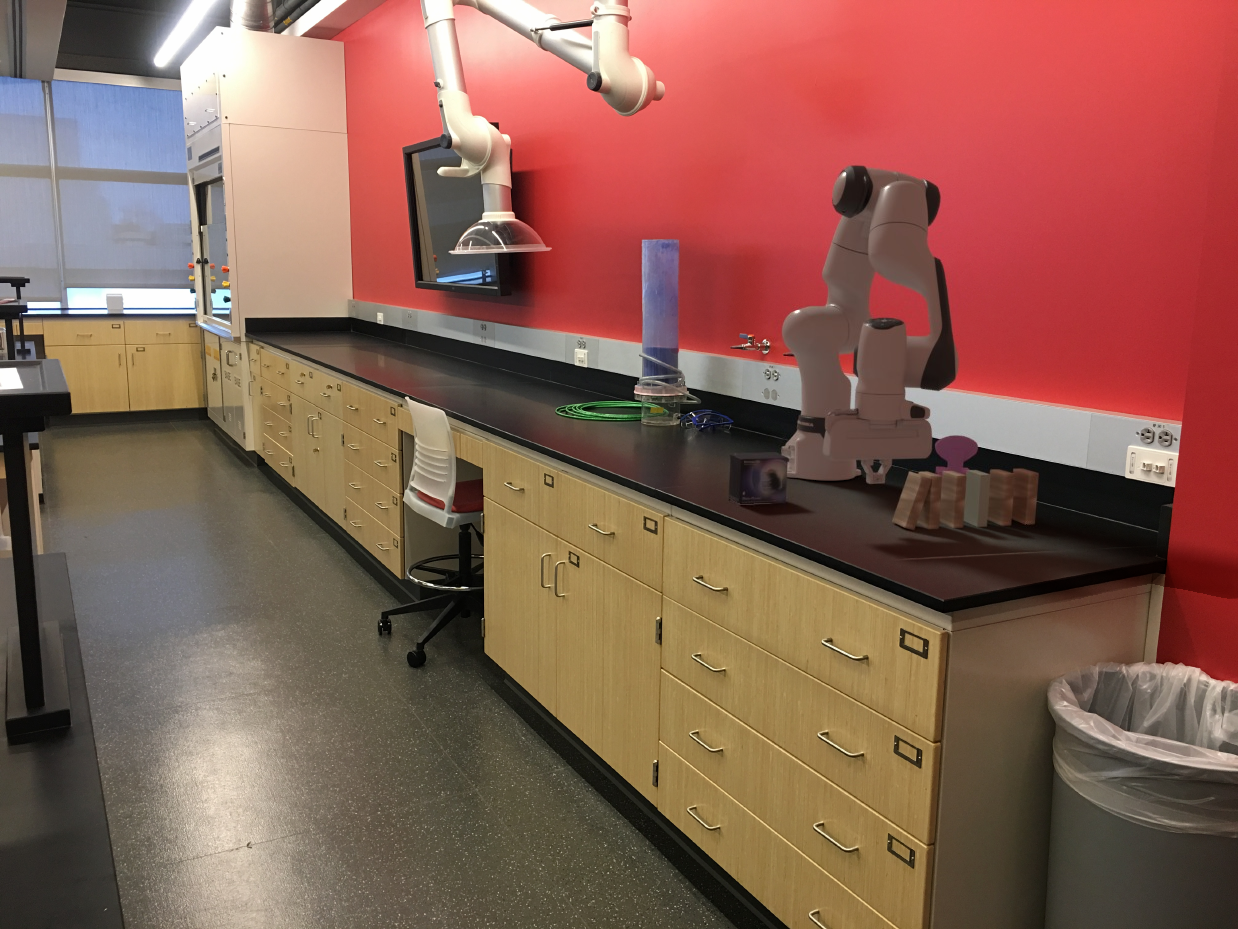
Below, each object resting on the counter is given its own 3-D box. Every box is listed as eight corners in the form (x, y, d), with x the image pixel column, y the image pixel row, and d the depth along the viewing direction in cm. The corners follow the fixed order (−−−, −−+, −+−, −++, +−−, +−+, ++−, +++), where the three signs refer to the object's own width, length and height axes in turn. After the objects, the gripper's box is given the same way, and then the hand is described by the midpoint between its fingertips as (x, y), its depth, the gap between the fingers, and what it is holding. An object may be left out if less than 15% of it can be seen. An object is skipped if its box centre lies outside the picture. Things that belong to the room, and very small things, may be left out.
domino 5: (1001, 526, 186) (1005, 474, 184) (986, 520, 191) (990, 469, 189) (1010, 525, 187) (1015, 473, 185) (995, 520, 191) (999, 469, 190)
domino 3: (953, 528, 184) (956, 475, 182) (939, 522, 189) (942, 471, 187) (963, 528, 185) (966, 475, 183) (948, 522, 189) (952, 470, 188)
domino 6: (1025, 525, 187) (1029, 473, 186) (1009, 519, 192) (1013, 468, 190) (1034, 524, 188) (1038, 473, 186) (1018, 519, 192) (1022, 468, 191)
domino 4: (977, 527, 185) (980, 474, 184) (962, 521, 190) (966, 470, 188) (986, 527, 186) (990, 474, 184) (972, 521, 190) (975, 470, 189)
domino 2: (928, 529, 183) (932, 476, 181) (915, 523, 188) (918, 471, 186) (938, 529, 184) (942, 476, 182) (925, 523, 188) (928, 471, 187)
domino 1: (904, 527, 182) (922, 476, 181) (891, 521, 187) (909, 471, 186) (914, 530, 182) (932, 479, 181) (900, 524, 187) (918, 474, 186)
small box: (739, 509, 199) (741, 458, 197) (727, 503, 205) (728, 453, 203) (787, 506, 202) (789, 456, 200) (773, 500, 208) (775, 451, 206)
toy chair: (969, 502, 208) (974, 431, 206) (975, 510, 200) (980, 437, 197) (928, 500, 210) (933, 430, 207) (932, 508, 201) (937, 435, 199)
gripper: (833, 411, 174) (829, 488, 177) (938, 409, 179) (933, 484, 181) (818, 407, 180) (815, 481, 183) (921, 405, 185) (916, 478, 187)
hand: (875, 483), depth 182 cm, fingers closed
